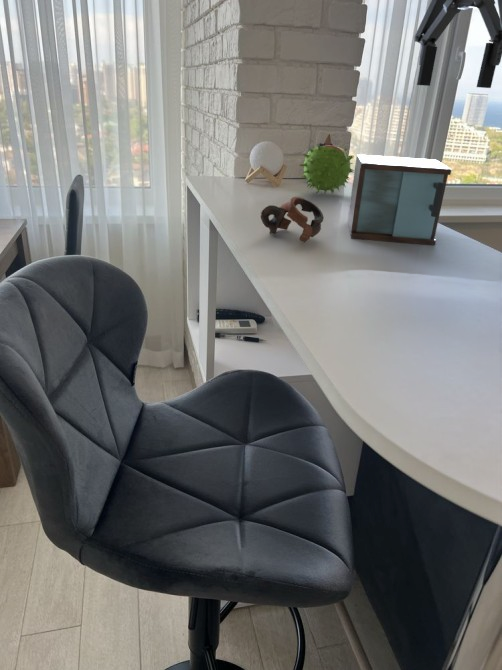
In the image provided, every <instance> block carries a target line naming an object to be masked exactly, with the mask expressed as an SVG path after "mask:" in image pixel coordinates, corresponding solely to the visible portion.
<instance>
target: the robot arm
mask: <svg viewBox="0 0 502 670" xmlns="http://www.w3.org/2000/svg"><path fill="white" fill-rule="evenodd" d="M495 5H496V1H495V0H431V1H430V2H429V5H428V7H427V9H426V11H425V13H424V15H423V18H422V20H421V22H420V24H419V26H418V28H417V31H416V32H415V35H414V36H413V41H414V42H415V43H418V44H420V46H421V48H420V53H419V59H418V65H419V70H418V75H417V76H418V77H417V82H416V86H425V87H430V86H431V83H432V78H433V72H434V67H435V61H436V56H437V50H438V46H437V44H436V42H437V41H438V40H439V38H440V37H441V36H442V34H443V33H444V32H445V30H446V29H447V27H449V25H450V23H451V22H452V20H453V19H454V18H455V17H456V15H457V14H459V13H461V11H462V10H463V11H464V10H465V11H466V10H470V9H472V8H473V9H477V10H479V14H480V16H481V18H482V20H483V23H484V25H485V27H486V30H487V32H488V35H489V37H490V39H488V42H486V43H485V47H484V51H483V52H484V53H483V56H482V60H481V64H480V68H479V74H478V78H477V83H476V88H481V89H482V88H483V89H491V88H492V84H493V80H494V75H495V72H496V67H497V66H500V64H501V61H502V0H497V7H498V10H497V7H496V6H495Z"/></svg>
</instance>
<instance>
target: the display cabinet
mask: <svg viewBox="0 0 502 670" xmlns="http://www.w3.org/2000/svg"><path fill="white" fill-rule="evenodd" d="M354 170H355V171H353V180H352V187H351V194H350V201H349V210H348V217H347V227H348V230H349V231H348V232H349V235H350V239H355V240H365V239H367V240H366V241H368V240H369V241H378V240H380V241H379V242H392V243H404V244H414V243H415V245H416V244H417V245H428V246H435V245H436V244H437V243H436V242H437V239H435V237H436V233H437V228H438V224H439V219H440V214H441V211H442V205H443V200H444V196H445V191H446V187H447V181H448V177H449V176H451V174H452V168H450V167H448V166H447V165H445V164H444V163H442V162H440V161H439V160H437V159H429V158H414V157H401V156H386V155H384V156H383V155H371V154H369V155H367V154H356V158H355V166H354ZM403 172H415V173H429V174H443V175H444V178H443V183H444V188H443V192H442V197H441V202H440V206H439V211H438V216H437V217H435V221H434V225H433V230H432V235H431V239H421V238H409V237H397V236H392V234H393V229H394V223H395V217H396V212H397V206H398V200H399V195H400V189H401V184H402V178H403Z"/></svg>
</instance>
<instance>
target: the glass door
mask: <svg viewBox="0 0 502 670" xmlns="http://www.w3.org/2000/svg"><path fill="white" fill-rule="evenodd" d="M443 178H444V175H443V174H429V173H415V172H403V178H402V184H401V189H400V195H399V200H398V206H397V212H396V217H395V223H394V229H393V234H392V236H397V237H409V238H421V239H431V235H432V230H433V225H434V221H435V217H437V216H438V211H439V206H440V202H441V197H442V192H443V188H444V183H443Z"/></svg>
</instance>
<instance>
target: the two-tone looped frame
mask: <svg viewBox="0 0 502 670" xmlns="http://www.w3.org/2000/svg"><path fill="white" fill-rule="evenodd" d="M299 205H300V207H301V210H299V209H298V208H297V206H299ZM301 211H302V212H307V213H312V214H313V218H314V219H312V220H311V222H310V224H309V223H308V220H309V218H308V216H306V215H304V214H303V213H302V212H301ZM271 215H272V218H271V219H270V216H271ZM285 216H287V217H288V218H286V217H285ZM260 220H261V223H262V224H263V225H264V227H266V228H268V229H269V234H270V235H272V234H274V235H275V234H277V231H278V229H280V230H285V231H288V228H289V226H290V224H291V223H292V222H294V223H296V224H297V225H298V226H299V227H300V228H302V229H303V230H302V233H301V235H300V236H299V241H301V242H303V243H307V242H308V241H309V240H310V239H311V238H314V237H315V236H316V235H318V234H319V233H320V231H321V230H322V223H323V221H324V214H323V212H322V210H321V209H320V208H319V207H318V206H317V205H316V204H315V203H313V201H310V200H308V199H306V198H304V197H300V196H294V197H291V199H290V200H289V201H287V202H284V203H283V204H280V205H279V206H277V205H272V204H270V205H267V206H264V208H263V209H262V210H261V212H260Z"/></svg>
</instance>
